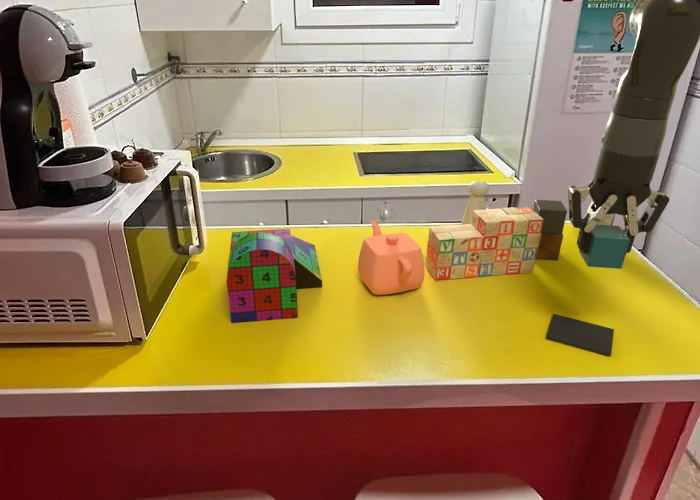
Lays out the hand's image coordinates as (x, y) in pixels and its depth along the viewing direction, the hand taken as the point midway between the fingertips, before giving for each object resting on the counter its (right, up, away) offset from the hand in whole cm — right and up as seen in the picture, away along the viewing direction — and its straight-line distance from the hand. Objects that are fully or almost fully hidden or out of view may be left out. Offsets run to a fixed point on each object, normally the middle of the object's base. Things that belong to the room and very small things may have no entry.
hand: (602, 252), depth 81 cm
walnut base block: (+3, 0, +34) cm, 34 cm away
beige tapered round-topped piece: (-10, +4, +42) cm, 44 cm away
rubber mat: (0, -14, +7) cm, 16 cm away
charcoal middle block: (+3, +5, +31) cm, 32 cm away
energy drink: (+17, +1, +38) cm, 41 cm away
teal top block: (0, -1, +1) cm, 1 cm away
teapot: (-32, -6, +23) cm, 40 cm away
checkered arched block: (-54, -6, +22) cm, 58 cm away
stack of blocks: (-12, -4, +27) cm, 30 cm away
